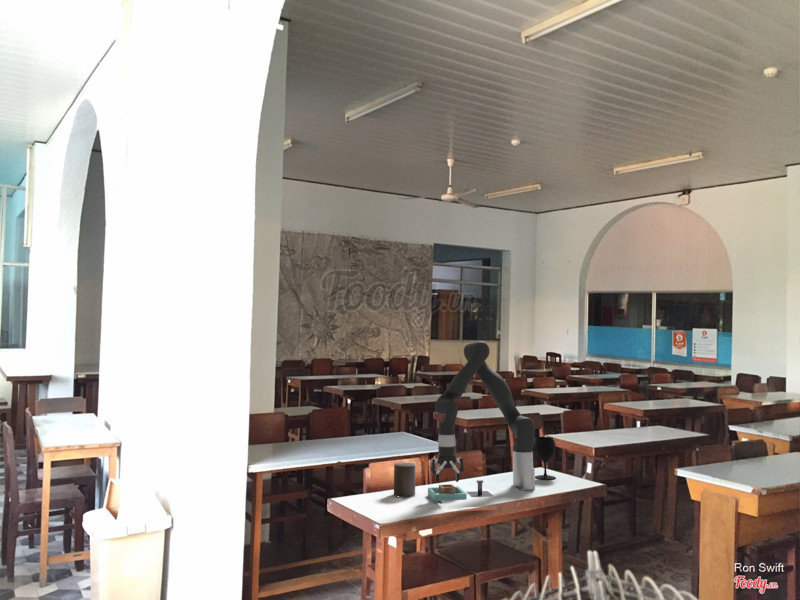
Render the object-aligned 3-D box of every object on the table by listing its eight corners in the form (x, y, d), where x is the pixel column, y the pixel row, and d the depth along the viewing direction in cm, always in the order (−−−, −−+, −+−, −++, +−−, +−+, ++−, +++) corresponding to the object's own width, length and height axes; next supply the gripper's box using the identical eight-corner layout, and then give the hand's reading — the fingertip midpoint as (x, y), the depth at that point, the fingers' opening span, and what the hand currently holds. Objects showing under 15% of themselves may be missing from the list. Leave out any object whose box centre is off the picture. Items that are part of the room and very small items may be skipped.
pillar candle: (395, 498, 280) (396, 463, 281) (391, 492, 289) (392, 459, 290) (417, 497, 282) (417, 462, 283) (412, 492, 291) (413, 458, 292)
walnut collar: (452, 494, 282) (451, 484, 282) (455, 497, 276) (455, 487, 276) (438, 495, 281) (438, 484, 281) (441, 498, 275) (441, 487, 275)
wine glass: (560, 478, 319) (559, 438, 321) (544, 481, 314) (544, 440, 316) (545, 475, 328) (545, 435, 330) (530, 477, 323) (530, 437, 324)
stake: (487, 494, 287) (487, 477, 287) (494, 499, 277) (494, 482, 277) (466, 495, 285) (465, 478, 285) (472, 500, 275) (472, 483, 276)
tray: (458, 494, 286) (458, 486, 287) (466, 502, 273) (466, 493, 273) (427, 495, 284) (427, 487, 284) (434, 503, 270) (434, 495, 271)
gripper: (460, 442, 285) (460, 479, 284) (429, 443, 282) (429, 481, 281) (464, 445, 277) (465, 483, 276) (432, 446, 275) (433, 484, 274)
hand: (447, 482), depth 279 cm, fingers open, 8 cm apart
